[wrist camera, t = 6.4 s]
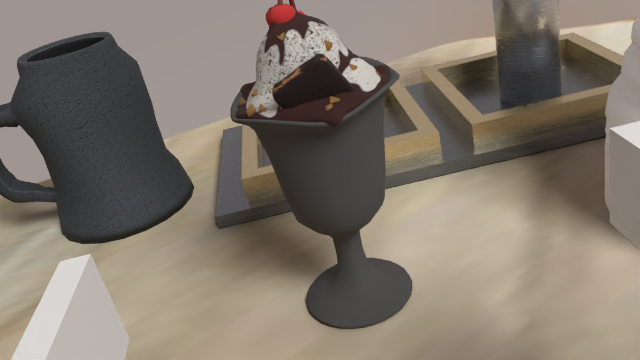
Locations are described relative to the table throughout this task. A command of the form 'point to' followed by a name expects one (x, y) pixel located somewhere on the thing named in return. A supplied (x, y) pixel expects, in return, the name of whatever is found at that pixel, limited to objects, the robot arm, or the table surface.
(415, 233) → the table surface
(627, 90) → the honey pot
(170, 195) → the mug
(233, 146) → the olive compartment tray
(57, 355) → the robot arm
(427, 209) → the table surface
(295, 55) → the sundae
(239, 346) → the table surface
